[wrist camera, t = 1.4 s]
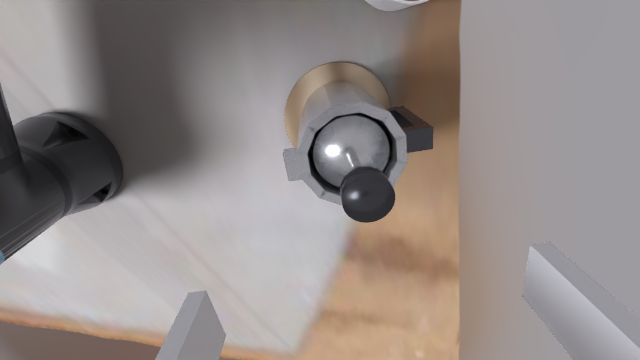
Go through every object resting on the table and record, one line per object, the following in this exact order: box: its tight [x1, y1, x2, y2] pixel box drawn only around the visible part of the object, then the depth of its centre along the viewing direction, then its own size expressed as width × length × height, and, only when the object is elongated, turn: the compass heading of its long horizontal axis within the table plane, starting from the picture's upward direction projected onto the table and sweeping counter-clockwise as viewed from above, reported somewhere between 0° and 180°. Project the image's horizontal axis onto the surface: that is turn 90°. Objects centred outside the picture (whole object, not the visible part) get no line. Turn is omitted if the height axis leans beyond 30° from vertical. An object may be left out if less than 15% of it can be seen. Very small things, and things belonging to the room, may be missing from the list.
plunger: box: [313, 114, 395, 222], centre depth 27 cm, size 8×8×11 cm
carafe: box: [283, 81, 433, 206], centre depth 38 cm, size 16×11×16 cm
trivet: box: [285, 62, 391, 148], centre depth 45 cm, size 16×16×1 cm
